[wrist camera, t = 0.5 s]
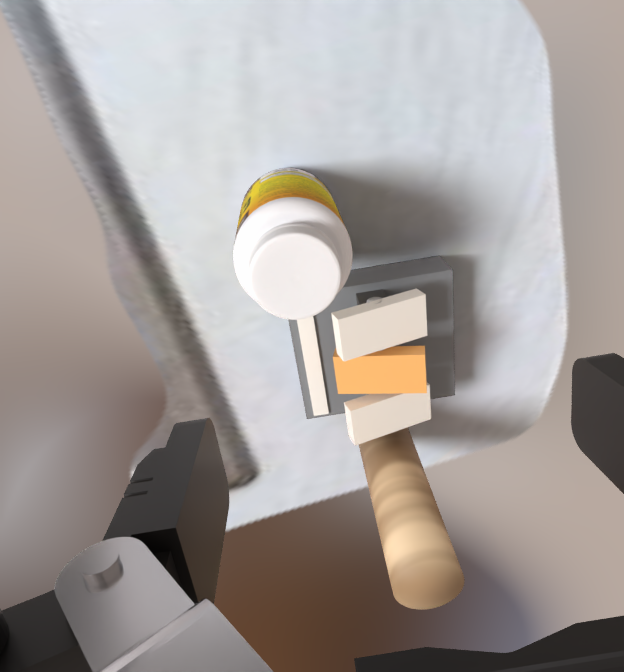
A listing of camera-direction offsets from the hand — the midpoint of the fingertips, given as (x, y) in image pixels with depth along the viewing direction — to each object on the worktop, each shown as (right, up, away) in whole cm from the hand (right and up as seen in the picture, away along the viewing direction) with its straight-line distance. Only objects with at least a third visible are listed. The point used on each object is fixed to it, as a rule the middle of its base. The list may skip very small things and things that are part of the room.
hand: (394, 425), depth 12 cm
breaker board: (+2, +2, +23) cm, 24 cm away
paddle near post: (+3, -2, +21) cm, 21 cm away
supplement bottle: (-3, +9, +20) cm, 22 cm away
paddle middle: (+2, 0, +19) cm, 20 cm away
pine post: (+3, -4, +27) cm, 27 cm away
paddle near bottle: (+2, +3, +18) cm, 18 cm away
